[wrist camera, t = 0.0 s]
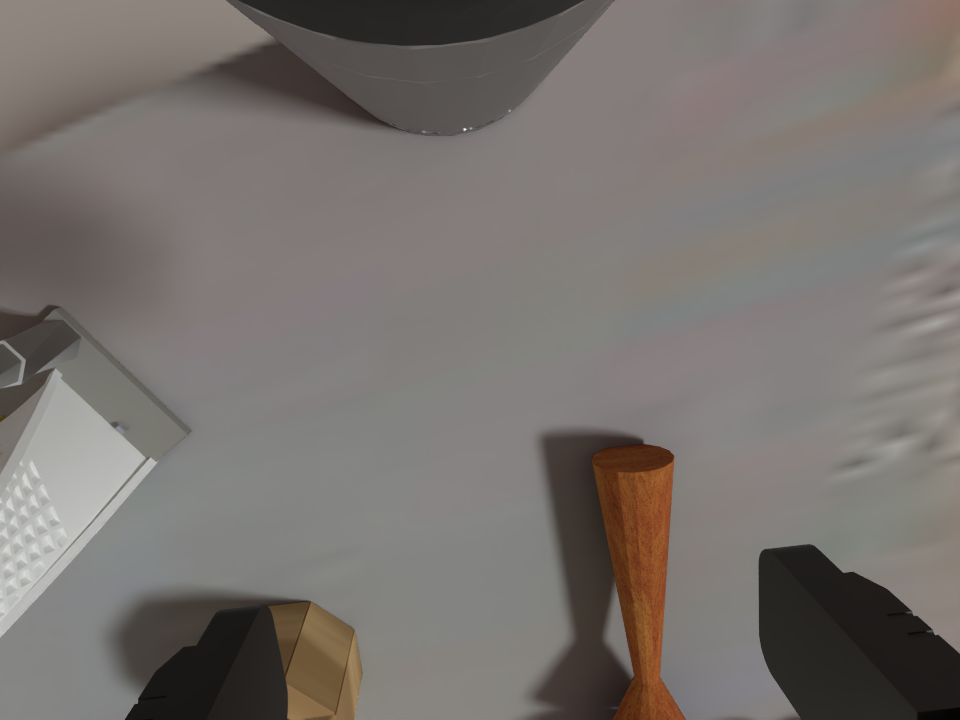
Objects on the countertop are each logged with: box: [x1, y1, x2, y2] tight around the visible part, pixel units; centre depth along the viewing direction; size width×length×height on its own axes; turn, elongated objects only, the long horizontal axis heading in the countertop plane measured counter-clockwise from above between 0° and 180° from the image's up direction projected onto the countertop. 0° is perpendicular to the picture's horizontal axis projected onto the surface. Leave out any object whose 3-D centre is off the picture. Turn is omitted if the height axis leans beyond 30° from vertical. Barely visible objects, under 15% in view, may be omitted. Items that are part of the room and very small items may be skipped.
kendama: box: [592, 444, 686, 720], centre depth 29 cm, size 6×6×20 cm
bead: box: [268, 601, 362, 720], centre depth 28 cm, size 6×6×5 cm
